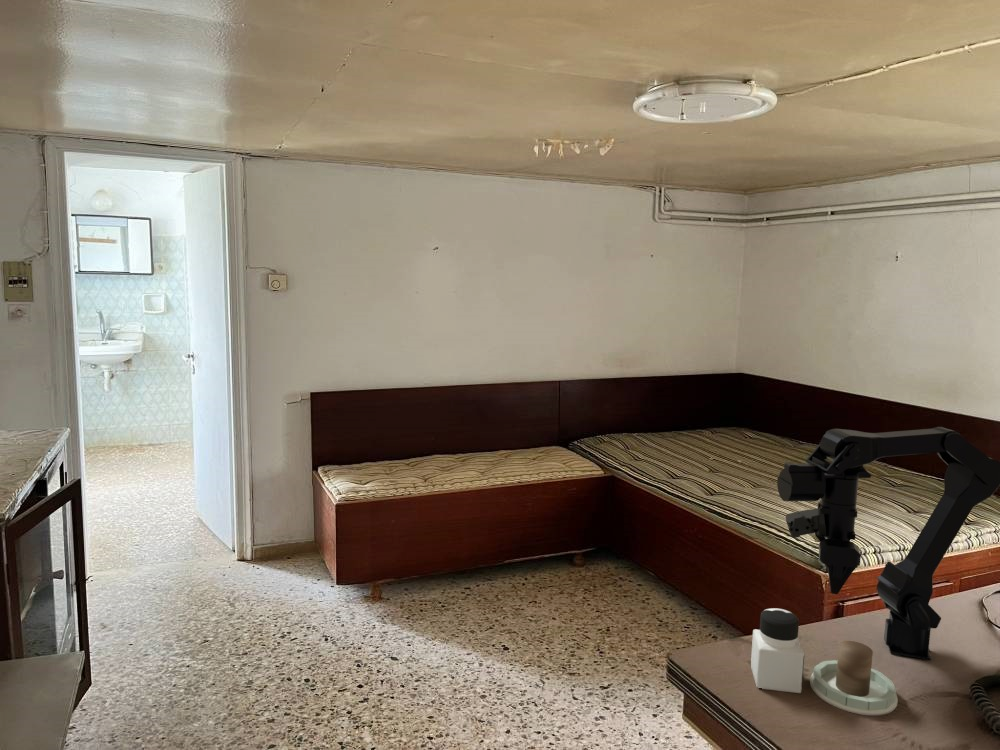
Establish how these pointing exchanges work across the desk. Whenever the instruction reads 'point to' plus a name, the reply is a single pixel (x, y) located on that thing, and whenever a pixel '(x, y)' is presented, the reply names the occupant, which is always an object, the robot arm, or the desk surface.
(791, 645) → the medicine bottle
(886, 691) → the ring dish
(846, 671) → the brown domed cylinder
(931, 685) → the desk surface
